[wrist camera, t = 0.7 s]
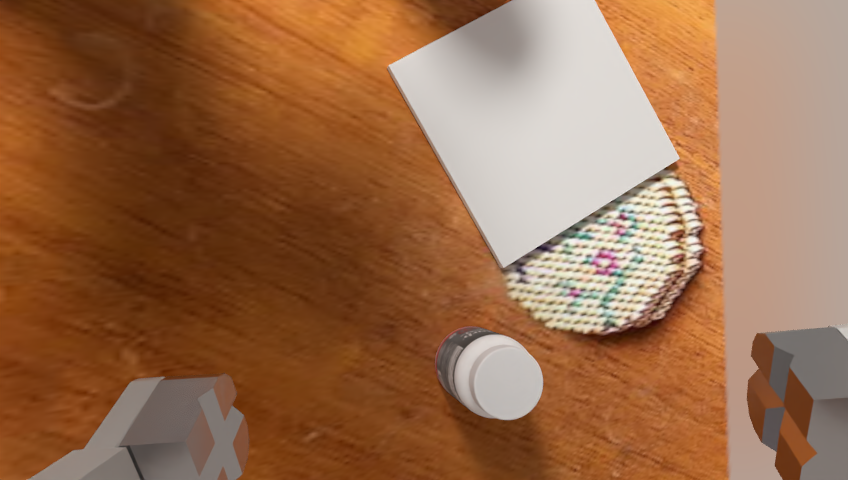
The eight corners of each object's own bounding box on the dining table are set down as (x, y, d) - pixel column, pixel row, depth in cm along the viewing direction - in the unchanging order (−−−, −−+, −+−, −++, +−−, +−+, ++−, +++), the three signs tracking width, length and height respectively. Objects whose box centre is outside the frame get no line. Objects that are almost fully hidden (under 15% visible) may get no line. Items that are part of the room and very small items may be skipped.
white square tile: (386, 68, 51) (388, 65, 50) (572, -30, 55) (576, -34, 54) (500, 267, 52) (503, 268, 52) (674, 160, 56) (679, 158, 55)
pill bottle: (509, 331, 52) (559, 347, 43) (496, 403, 52) (544, 435, 42) (439, 319, 51) (475, 332, 41) (427, 392, 51) (459, 422, 41)
